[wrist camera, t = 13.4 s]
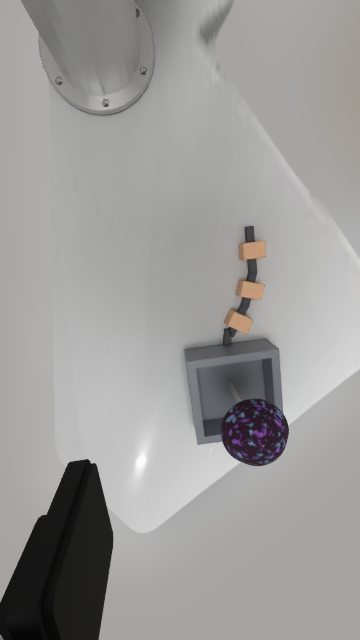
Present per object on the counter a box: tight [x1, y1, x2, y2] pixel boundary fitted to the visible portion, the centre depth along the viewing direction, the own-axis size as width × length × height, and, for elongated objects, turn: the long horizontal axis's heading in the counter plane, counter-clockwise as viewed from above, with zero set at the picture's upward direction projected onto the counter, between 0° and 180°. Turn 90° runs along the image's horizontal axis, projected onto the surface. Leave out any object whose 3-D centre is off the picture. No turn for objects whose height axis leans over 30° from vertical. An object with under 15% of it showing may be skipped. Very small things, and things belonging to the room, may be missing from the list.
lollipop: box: [221, 382, 289, 466], centre depth 36 cm, size 7×7×15 cm
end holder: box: [185, 339, 283, 445], centre depth 42 cm, size 12×12×5 cm
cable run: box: [223, 226, 266, 346], centre depth 40 cm, size 16×4×2 cm, turn 171°
